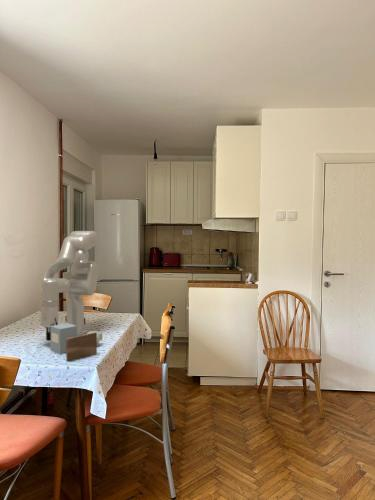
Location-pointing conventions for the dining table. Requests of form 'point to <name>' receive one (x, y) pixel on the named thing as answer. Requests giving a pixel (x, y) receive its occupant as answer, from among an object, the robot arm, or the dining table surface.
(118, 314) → the dining table surface
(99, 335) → the sage mug
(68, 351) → the board
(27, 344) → the dining table surface
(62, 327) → the grey box
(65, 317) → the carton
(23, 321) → the dining table surface
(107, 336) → the dining table surface
